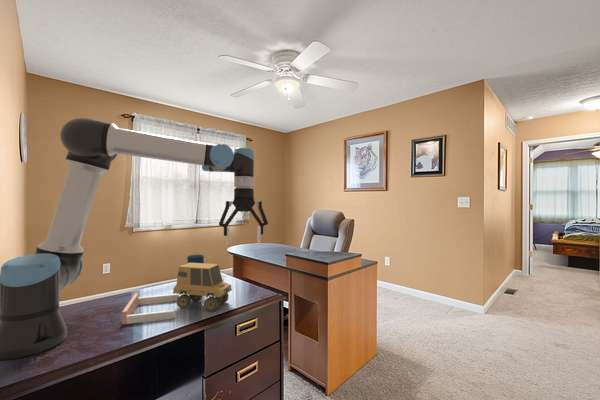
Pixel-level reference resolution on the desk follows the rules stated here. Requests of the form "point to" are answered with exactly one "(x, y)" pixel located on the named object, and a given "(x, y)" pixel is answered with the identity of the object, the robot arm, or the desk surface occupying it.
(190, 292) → the toy car
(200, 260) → the cup
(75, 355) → the desk surface
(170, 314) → the bay
